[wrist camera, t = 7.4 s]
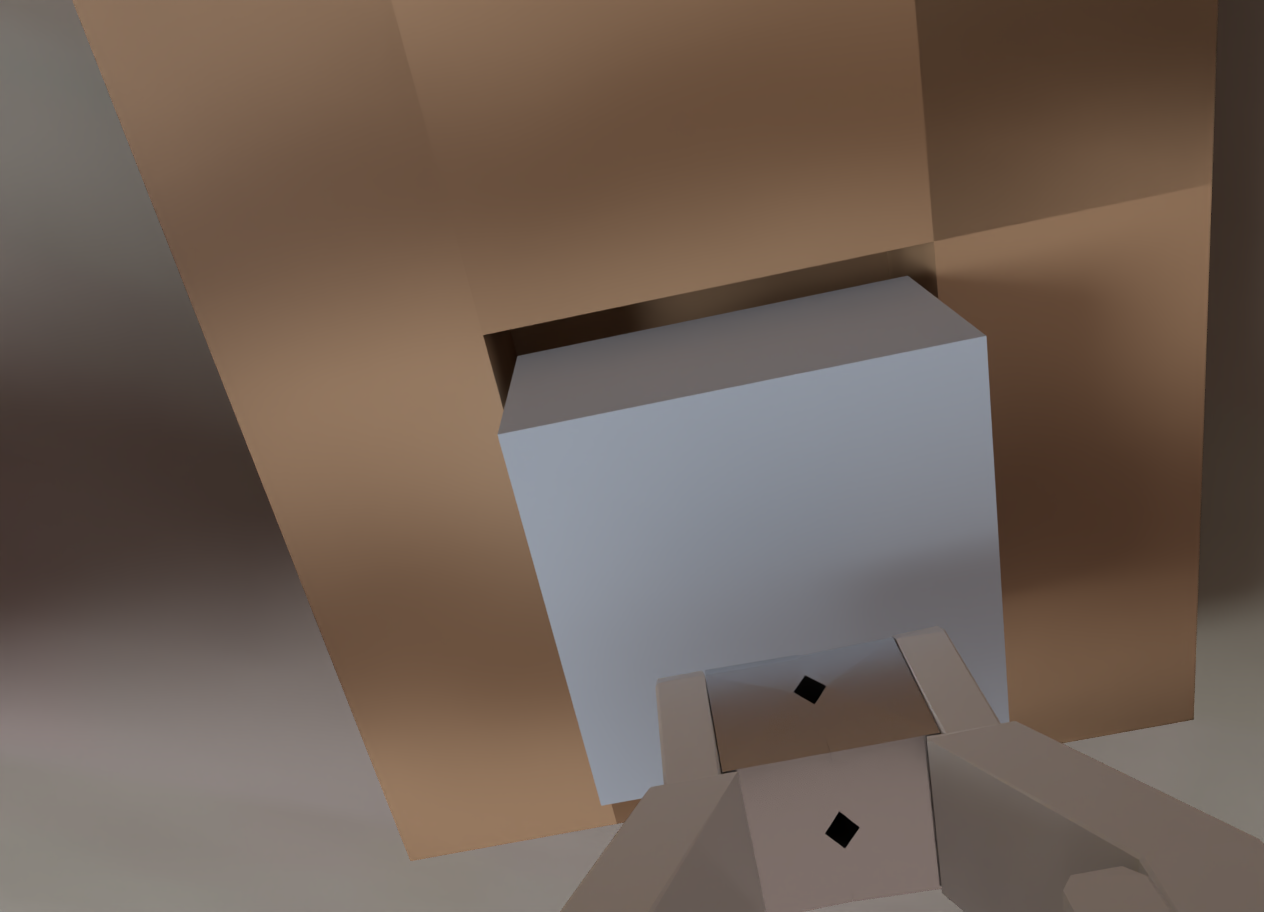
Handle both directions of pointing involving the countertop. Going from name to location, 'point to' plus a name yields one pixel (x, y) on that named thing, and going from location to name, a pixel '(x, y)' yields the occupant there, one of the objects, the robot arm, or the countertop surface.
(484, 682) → the two-button wooden panel
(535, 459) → the slate key
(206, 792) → the countertop surface
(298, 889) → the countertop surface
